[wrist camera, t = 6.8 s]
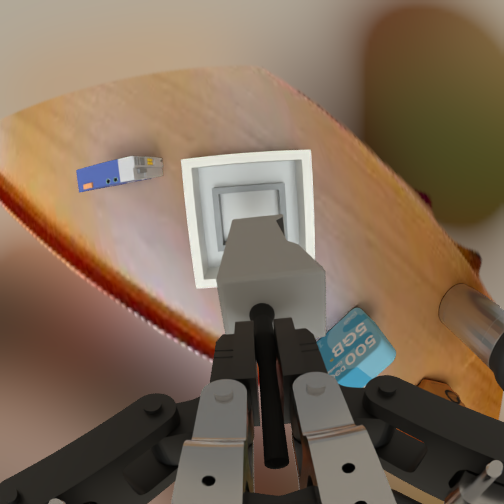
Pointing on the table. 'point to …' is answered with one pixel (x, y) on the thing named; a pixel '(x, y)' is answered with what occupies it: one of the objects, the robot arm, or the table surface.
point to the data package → (355, 350)
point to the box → (245, 201)
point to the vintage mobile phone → (269, 306)
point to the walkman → (119, 172)
